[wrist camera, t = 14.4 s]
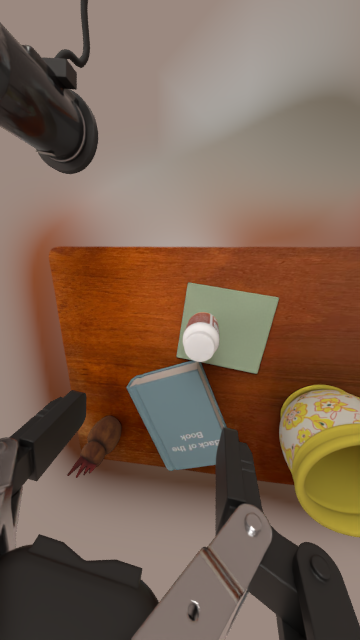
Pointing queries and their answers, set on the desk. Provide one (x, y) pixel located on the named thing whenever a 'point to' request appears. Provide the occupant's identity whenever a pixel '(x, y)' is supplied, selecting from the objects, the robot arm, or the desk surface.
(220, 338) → the mat
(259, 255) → the desk surface
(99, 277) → the desk surface
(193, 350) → the pill bottle
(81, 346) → the desk surface
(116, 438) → the wooden figurine
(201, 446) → the book
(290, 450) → the flowerpot
